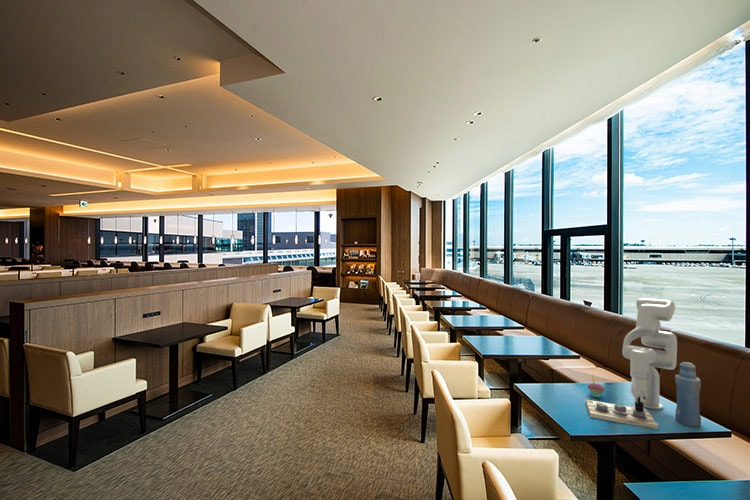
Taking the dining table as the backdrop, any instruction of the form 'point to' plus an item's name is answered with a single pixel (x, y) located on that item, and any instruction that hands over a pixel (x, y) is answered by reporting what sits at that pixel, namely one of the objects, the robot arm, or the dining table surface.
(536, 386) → the dining table surface
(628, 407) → the pattern card
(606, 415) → the button board
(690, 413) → the bottle
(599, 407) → the button far
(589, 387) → the cupcake
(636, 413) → the button near bottle
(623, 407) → the button middle
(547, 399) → the dining table surface
